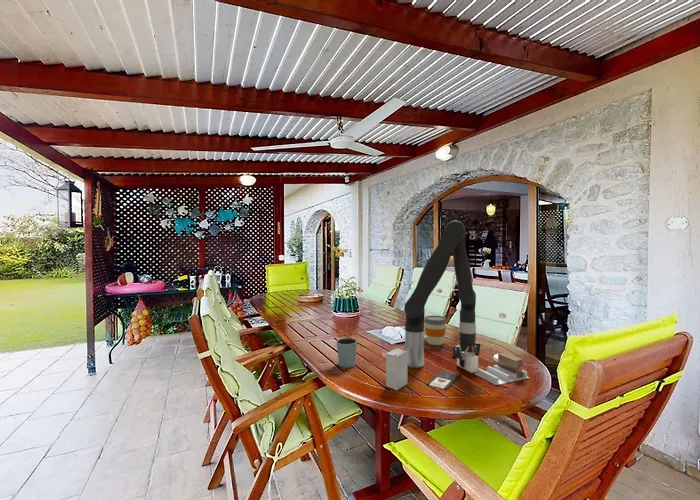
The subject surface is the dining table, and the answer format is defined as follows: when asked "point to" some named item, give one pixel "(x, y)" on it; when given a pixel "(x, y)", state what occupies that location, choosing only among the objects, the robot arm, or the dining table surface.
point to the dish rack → (499, 375)
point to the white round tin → (496, 358)
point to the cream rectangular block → (469, 362)
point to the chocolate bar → (443, 379)
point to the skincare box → (396, 368)
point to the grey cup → (347, 352)
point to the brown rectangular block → (510, 363)
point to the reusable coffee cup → (435, 329)
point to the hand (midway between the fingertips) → (467, 365)
